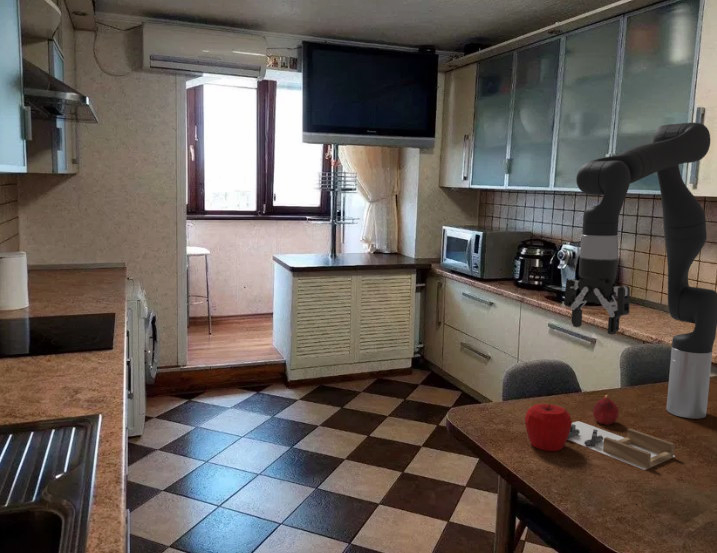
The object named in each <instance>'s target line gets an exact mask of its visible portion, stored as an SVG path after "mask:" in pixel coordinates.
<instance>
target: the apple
mask: <svg viewBox="0 0 717 553" xmlns="http://www.w3.org/2000/svg"><path fill="white" fill-rule="evenodd" d="M524 422H525V423H524V424H525V429H526V433H527V436H528V439H529V442H530V444H531V445H532V446H533V447H534V448H537V449H538V450H541V451H546V452H557V451H560V450H562V449H563V448H564V447H565V445H566V442H567V441H568V440H567V438H568V435H569V432H570V428H571V424H572V423H573V422H572V418H571V413H569V412H568V410H566V409H565V408H564V407H561V406H559V405H555V404H551V403H549V404H548V403H546V404H545V403H537V404H533V406H531V407H530V408H528V409H527V411H526V414H525V416H524Z"/></svg>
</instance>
